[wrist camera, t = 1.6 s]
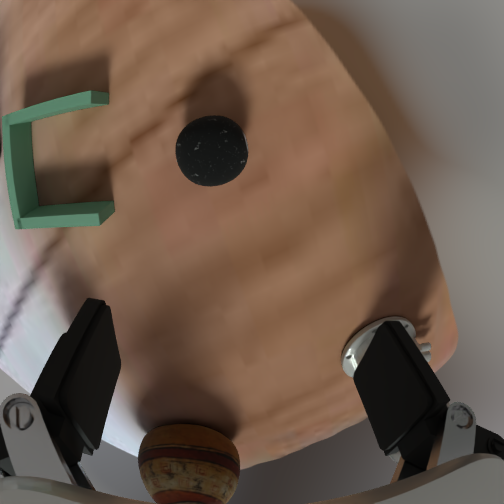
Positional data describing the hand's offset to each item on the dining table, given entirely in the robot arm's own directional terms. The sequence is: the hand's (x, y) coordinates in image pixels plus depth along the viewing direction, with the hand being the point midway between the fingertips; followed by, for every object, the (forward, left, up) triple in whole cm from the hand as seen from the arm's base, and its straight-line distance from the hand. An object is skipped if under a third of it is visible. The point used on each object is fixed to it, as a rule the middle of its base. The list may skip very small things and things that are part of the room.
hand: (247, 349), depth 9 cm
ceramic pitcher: (+9, +49, -21) cm, 54 cm away
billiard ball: (+2, -4, -21) cm, 21 cm away
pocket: (+18, -4, -20) cm, 28 cm away
